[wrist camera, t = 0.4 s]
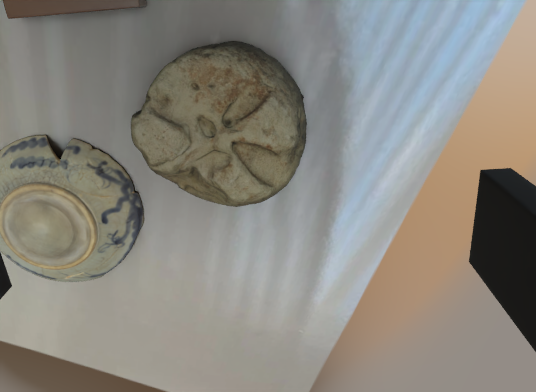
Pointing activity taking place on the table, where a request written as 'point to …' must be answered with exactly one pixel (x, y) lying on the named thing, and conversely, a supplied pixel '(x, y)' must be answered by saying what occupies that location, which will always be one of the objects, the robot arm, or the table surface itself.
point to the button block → (64, 6)
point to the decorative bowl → (65, 210)
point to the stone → (223, 124)
